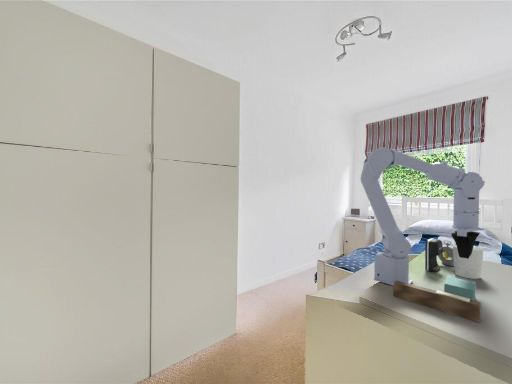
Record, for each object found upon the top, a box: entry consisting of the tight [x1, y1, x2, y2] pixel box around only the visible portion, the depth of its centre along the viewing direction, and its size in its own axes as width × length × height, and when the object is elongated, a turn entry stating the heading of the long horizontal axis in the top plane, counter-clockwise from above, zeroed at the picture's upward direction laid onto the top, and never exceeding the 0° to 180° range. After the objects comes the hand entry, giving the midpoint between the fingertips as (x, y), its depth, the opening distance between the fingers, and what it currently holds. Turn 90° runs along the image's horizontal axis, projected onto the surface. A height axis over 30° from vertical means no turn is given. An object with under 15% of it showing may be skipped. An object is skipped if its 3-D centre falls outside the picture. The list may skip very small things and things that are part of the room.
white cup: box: [452, 243, 484, 280], centre depth 82 cm, size 8×8×10 cm
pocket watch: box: [437, 240, 455, 267], centre depth 92 cm, size 8×8×10 cm
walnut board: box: [393, 280, 482, 323], centre depth 62 cm, size 18×2×4 cm, turn 42°
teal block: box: [443, 276, 477, 301], centre depth 66 cm, size 6×7×4 cm
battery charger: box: [424, 238, 444, 273], centre depth 87 cm, size 7×4×11 cm, turn 127°
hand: (465, 256), depth 72 cm, fingers open, 4 cm apart
